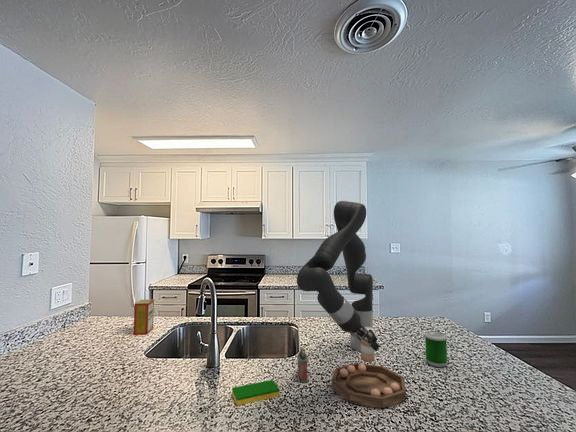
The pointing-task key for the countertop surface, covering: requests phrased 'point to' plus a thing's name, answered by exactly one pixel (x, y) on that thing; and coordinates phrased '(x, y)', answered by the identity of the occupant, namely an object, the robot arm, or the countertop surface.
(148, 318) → the baking soda box
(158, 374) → the countertop surface
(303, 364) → the lighter
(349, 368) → the seated beads
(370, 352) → the bead stack
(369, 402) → the bead tray
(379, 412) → the countertop surface
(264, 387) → the dish sponge
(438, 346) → the soda can
